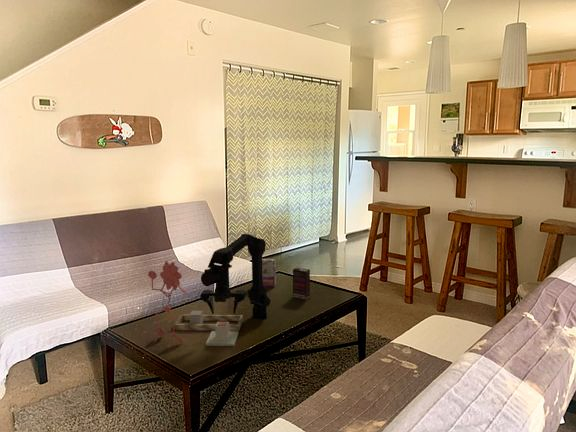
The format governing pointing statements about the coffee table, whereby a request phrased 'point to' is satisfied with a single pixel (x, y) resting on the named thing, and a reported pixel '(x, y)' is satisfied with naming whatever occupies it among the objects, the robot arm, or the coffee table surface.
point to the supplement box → (301, 283)
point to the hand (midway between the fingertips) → (223, 313)
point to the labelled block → (222, 330)
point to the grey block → (196, 317)
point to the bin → (208, 326)
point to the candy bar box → (269, 272)
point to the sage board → (228, 342)
